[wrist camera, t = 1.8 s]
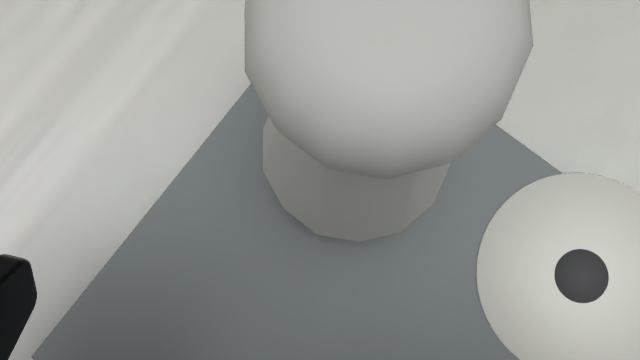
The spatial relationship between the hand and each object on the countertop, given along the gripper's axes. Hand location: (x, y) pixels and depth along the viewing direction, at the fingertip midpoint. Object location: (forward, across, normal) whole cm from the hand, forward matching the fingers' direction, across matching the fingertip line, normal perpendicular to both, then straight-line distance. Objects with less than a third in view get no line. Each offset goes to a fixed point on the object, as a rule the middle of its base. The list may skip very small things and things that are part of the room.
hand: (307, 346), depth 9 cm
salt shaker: (+11, 0, +5) cm, 12 cm away
